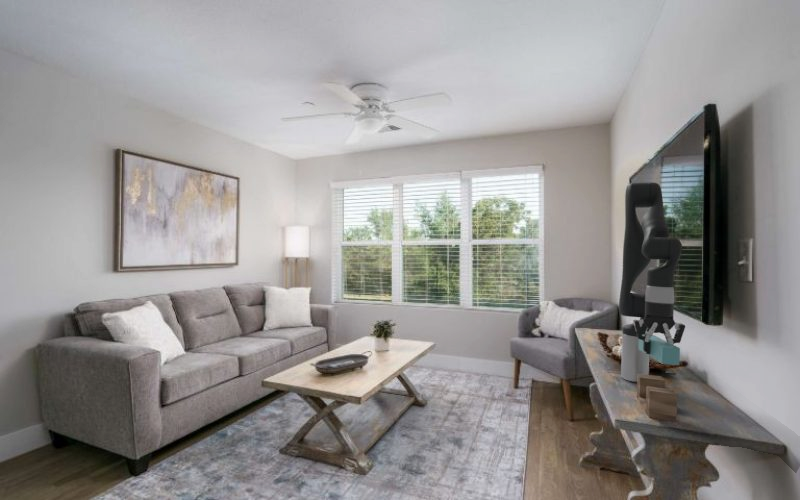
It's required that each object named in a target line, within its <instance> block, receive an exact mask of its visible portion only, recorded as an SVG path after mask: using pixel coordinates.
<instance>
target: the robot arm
mask: <svg viewBox="0 0 800 500" xmlns="http://www.w3.org/2000/svg"><path fill="white" fill-rule="evenodd" d="M624 195H625V196H624V197H625V199H624V204H625V205H624V206H625V207H624V210H625V212H624V213H625V214H624V215H625V223H624V224H625V225H624V236H623V237H624V239H623V246H622V247H623V250H622V251H623V252H622V272H621V273H622V276H621V287H620V292H619V302H618V310H619V311H618V312H619V314H620V315H621V316H623V317H628V318H629V317H630V318H631V317H632V318H639V319H634V320H633V322H632V323H629V324H625V325H623V327H622V331H621V332H622V334H621V335H622V337H621V361H620V362H621V365H620V378H621V379H623V380H625V381H628V382H633V383H637V374H645V375H650V367H649V362H650V358H651V357H650V356H649V355H647V354H649V350H650V342H649V340H650V338H651V336H652V335H654V334H663V336H664V338H665V341H666V342H668V343H670V344H672V345H674V344H680V343H681V341H682V338H683V334H684V332H685V330H686V325H685V324H683V323H681V322H675V320H674V312H675V311H674V308H675V307H674V306H675V291H674V287H675V286H674V283H675V282H674V279H675V272H676V267H677V265H678V262H679V261H680V257H681V255H682V251H683V244H682V242H681V241H680V239H679V238H676V237H670V228H669V226H668V224H667V220H666V217H665V212H664V211H665V209H664V200H663V191H662V187H661V185H660V184H659V183H657V182H653V181H652V182H649V181H648V182H631V183H628V184H627V186H626V189H625V194H624ZM637 208H650V209H649V210H647V212H645V214H644V215H643V217H642V219H641V223H640V220H639V219H638V216H637V211H636V209H637ZM651 260H664V261H665V262H664V263H663V264H662V265H658V266H653V267H652V266H651V267H649V268H648V270H647V271H646V276H647V277H646V288H645V293H642V292H641V293H640V292H639V293H637V292H631V291H632V288H633V286H634V283H635V281H636V280H637V279H638V277H639V276H640V275H641V274H642V273H643V272H644V271H645V270H646V268H647V267H648V265H649V264H650V262H651ZM673 327H674V328H675V334H674V337H673V338H672V334H671V329H672V328H673ZM642 335H644V336H642ZM639 339H640V340H643V350H644V351H645V353H646V354H645V353H644V352H642V351H641V350H639Z"/></svg>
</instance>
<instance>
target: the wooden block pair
mask: <svg viewBox="0 0 800 500" xmlns="http://www.w3.org/2000/svg"><path fill="white" fill-rule="evenodd" d="M636 398H637V400H638V402H639V403H640V405H641V407H642V408H643V411H644V412H645V413H646V415H647V416H648V418H653V419H657V420H658V419H659V420H664V419H665V421H670V420H672V422H677V420H678V419H677V418H678V417H677V415H678V393H677V392H676V391H675V390H674V389H671V388H669V389H668V388H666V380H665V379H664V377H662V376H661V375H651V374H649V375H645V374H637V382H636Z"/></svg>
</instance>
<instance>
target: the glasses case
mask: <svg viewBox="0 0 800 500" xmlns="http://www.w3.org/2000/svg"><path fill="white" fill-rule="evenodd" d="M642 336H644V335H642ZM649 342H650V350H649V354H647V355H649V356H650V357H649V358H652V359H654V360H655V361H657V362H659V363H661V364H664V365H669V366H670V365H673V366H680V355H681V353H680V352H681V348H680V347H679V346H676V345H674V344H673V345H672V344H670V343H668V342H667V341H666V340H664V339H663V338H660V337H659V336H657V335H655V334H653V335H652V336H651V338H650V340H649ZM639 350H641V351H642V352H644V353H645V351H644V350H643V340H640V339H639ZM645 354H646V353H645Z"/></svg>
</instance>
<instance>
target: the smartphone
mask: <svg viewBox="0 0 800 500" xmlns="http://www.w3.org/2000/svg"><path fill="white" fill-rule="evenodd" d="M665 373H667V375H674V376H675V375H677V372H676V371H673V369H671V370H670V371H666V372H665Z"/></svg>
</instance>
